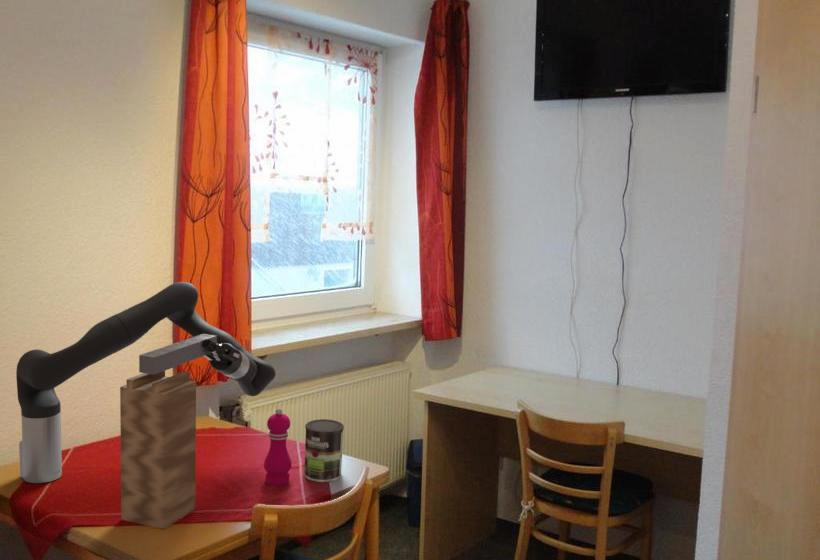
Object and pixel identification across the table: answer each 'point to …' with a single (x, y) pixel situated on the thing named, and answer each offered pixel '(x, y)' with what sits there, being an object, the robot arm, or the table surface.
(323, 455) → the coffee can
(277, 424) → the pepper mill
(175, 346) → the lever bar
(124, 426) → the walnut stand
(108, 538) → the table surface
